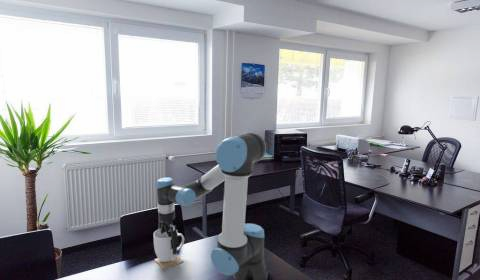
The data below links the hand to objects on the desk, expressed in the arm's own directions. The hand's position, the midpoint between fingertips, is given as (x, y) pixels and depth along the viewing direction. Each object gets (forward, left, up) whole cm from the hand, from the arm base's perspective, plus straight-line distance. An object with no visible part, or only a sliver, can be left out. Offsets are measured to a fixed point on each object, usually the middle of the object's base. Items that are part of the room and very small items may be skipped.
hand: (168, 254), depth 142 cm
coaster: (0, 0, -3) cm, 3 cm away
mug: (0, 0, -2) cm, 2 cm away
